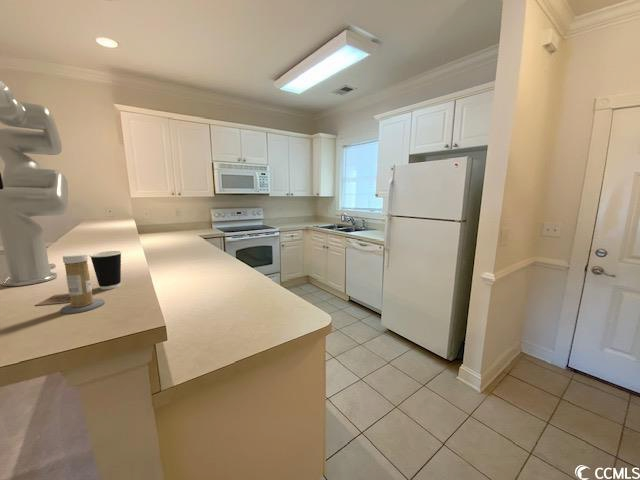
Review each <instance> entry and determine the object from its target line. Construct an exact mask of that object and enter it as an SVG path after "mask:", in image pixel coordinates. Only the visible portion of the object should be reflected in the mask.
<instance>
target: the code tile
mask: <svg viewBox="0 0 640 480" xmlns="http://www.w3.org/2000/svg"><path fill="white" fill-rule="evenodd" d="M67 303H68V304H71V299H70V295H69V293H61V294H59V293H58V294H54V295H52V296H50V297H48V298H46V299H44V300H42V301H41V302H38V303H37V304H35V305H34V307H38V306H48V305H57V304H60V305H61V304H67Z"/></svg>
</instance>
